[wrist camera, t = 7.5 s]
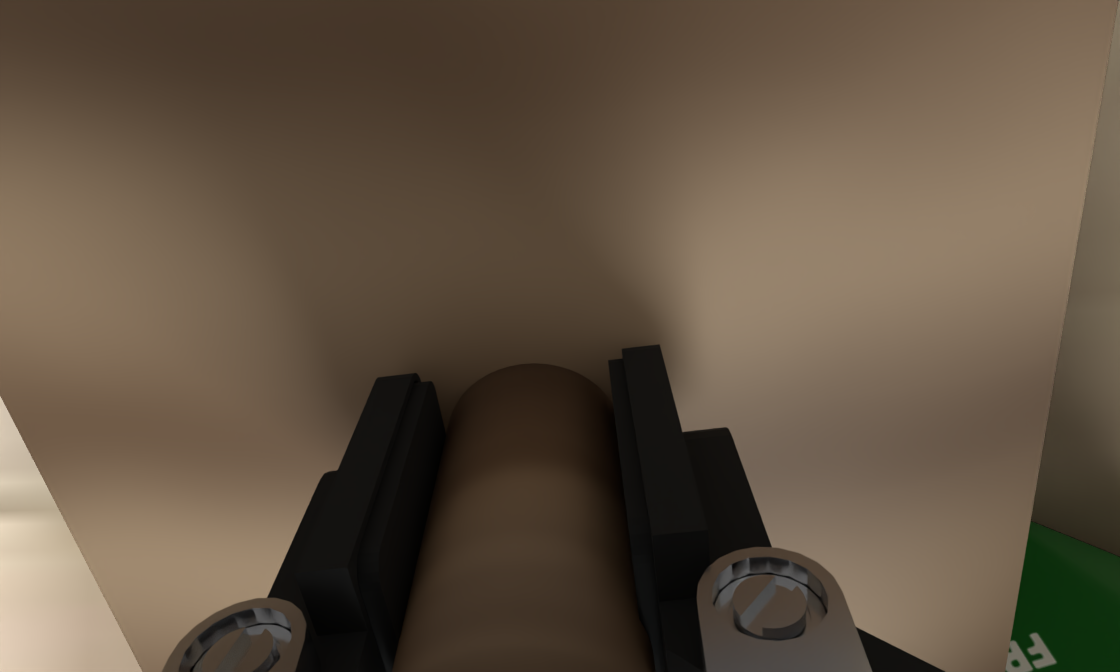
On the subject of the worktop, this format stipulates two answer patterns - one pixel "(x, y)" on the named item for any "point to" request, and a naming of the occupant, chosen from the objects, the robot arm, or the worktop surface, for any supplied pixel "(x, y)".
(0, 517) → the worktop surface
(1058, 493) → the worktop surface
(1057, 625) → the milk carton
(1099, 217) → the worktop surface
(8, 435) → the worktop surface
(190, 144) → the lid
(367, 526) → the robot arm
